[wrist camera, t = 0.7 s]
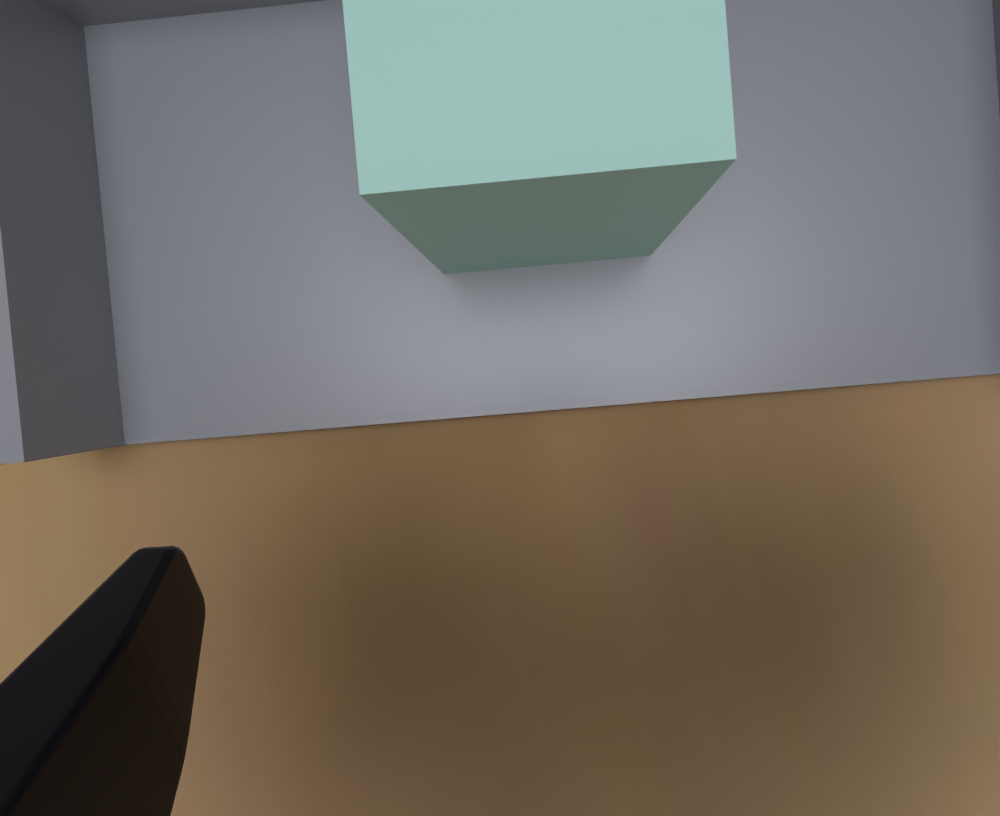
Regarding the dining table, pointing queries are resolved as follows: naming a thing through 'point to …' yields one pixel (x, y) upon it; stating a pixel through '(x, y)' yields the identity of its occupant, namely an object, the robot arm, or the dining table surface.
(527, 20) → the green block
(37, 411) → the open crate
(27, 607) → the dining table surface
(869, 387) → the dining table surface
